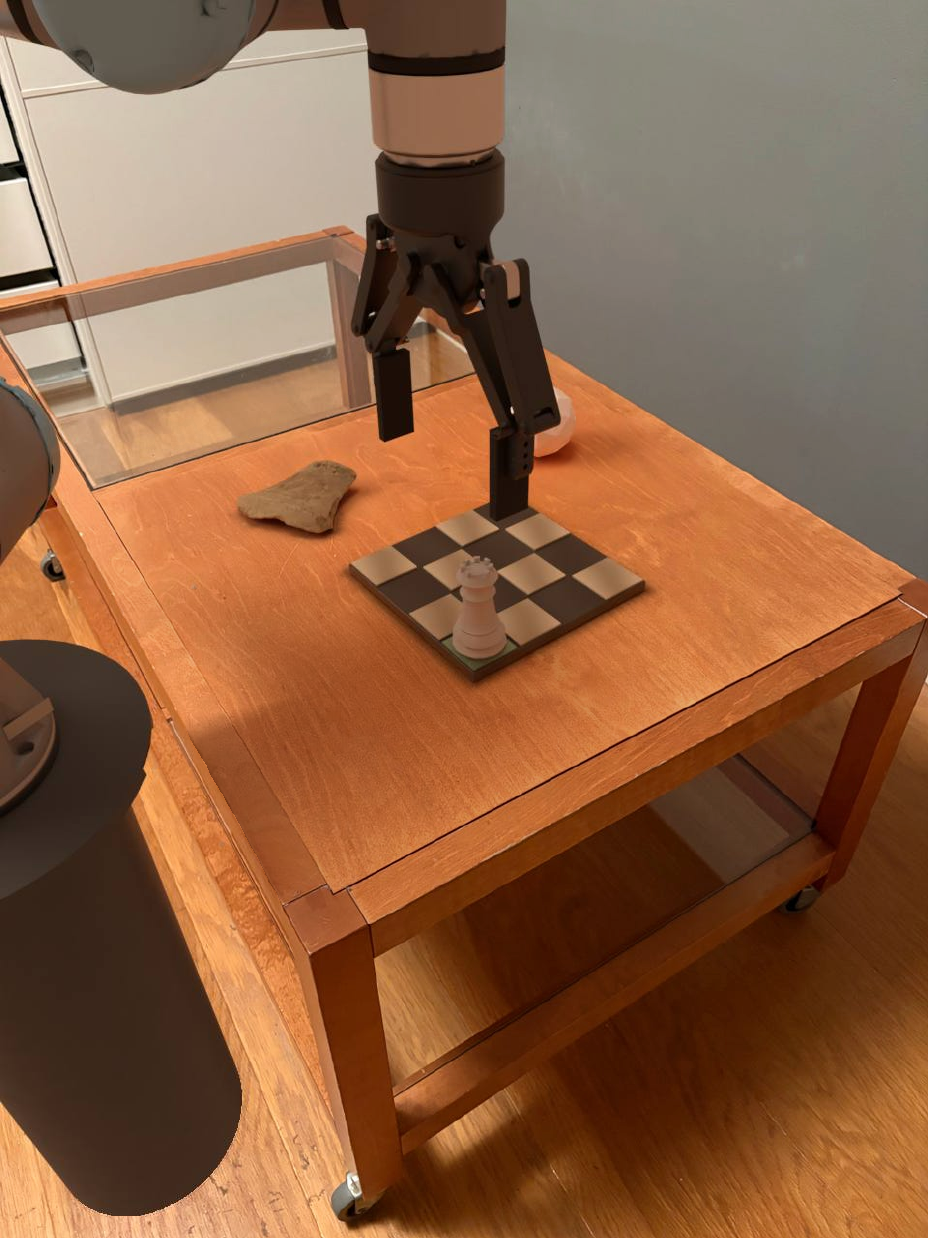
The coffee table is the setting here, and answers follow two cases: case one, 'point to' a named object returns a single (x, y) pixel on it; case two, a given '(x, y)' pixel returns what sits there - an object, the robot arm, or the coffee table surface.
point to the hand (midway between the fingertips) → (449, 472)
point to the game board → (497, 581)
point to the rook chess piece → (478, 612)
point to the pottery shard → (302, 497)
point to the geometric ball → (556, 428)
